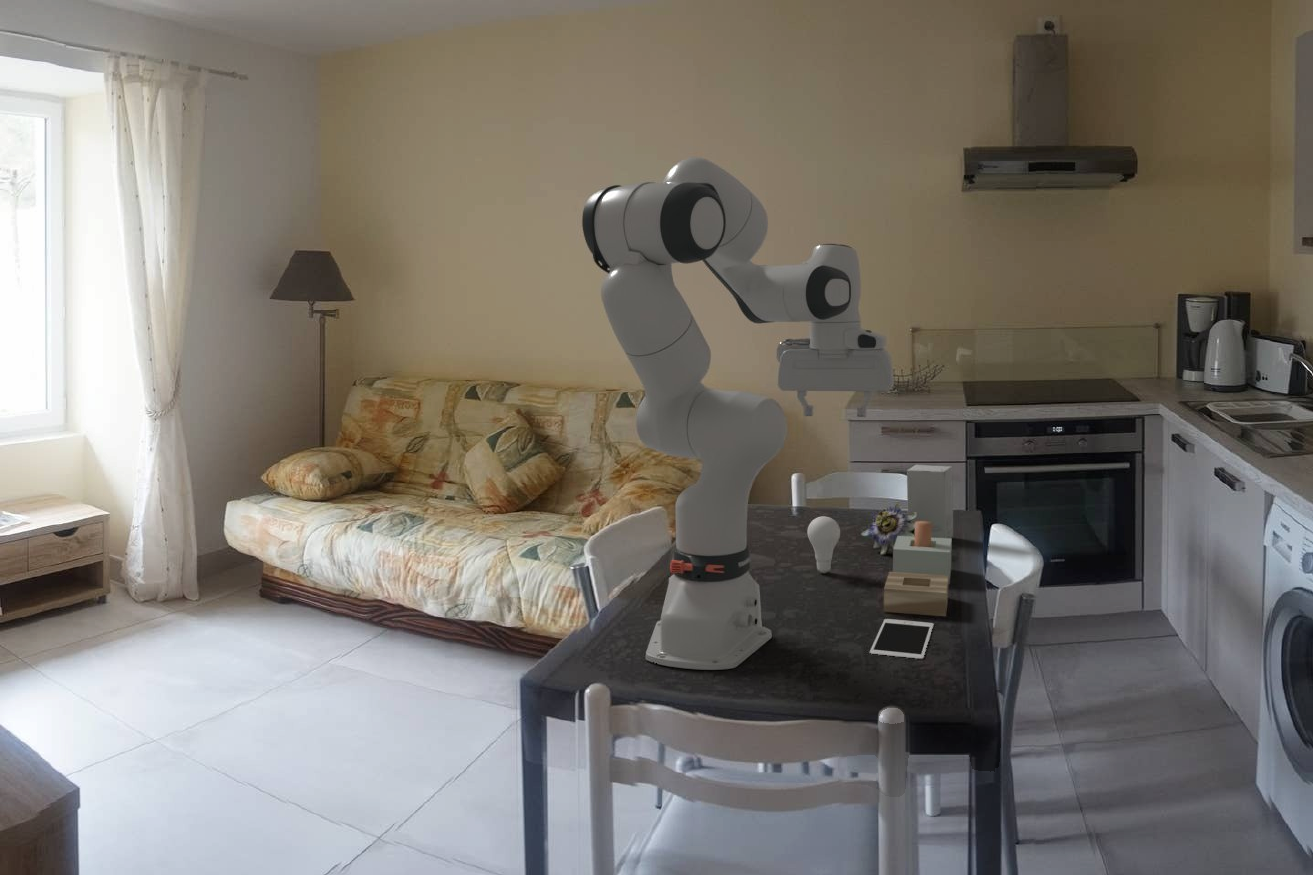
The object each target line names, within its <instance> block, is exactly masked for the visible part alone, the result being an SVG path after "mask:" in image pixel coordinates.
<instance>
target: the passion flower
mask: <svg viewBox="0 0 1313 875" xmlns="http://www.w3.org/2000/svg"><path fill="white" fill-rule="evenodd" d="M916 516H917V513H916V512H914V513H908V512H907V513H904V512H903V511H902V503H900V501H899V502H897V503H895V504H894V506H893V507H892V506H890V507H886V509H884V508H882V509H881V510H876V513H875V514H873V516H871V519H872V521H873V522H871V523H868V525H867V526H868V527H867V528H866V529H864V530H863V531H862V532H860V536H861V537H865V538H867V537H870V538H871V539H872V540H873V545H872V547H873V550H878V549H880V556H885V555H886V554H887V553H888V552H889V549H890V547H891V548H892V549H893V548H894V545H895V542H896V539H897V536H912V537H915V524H914V523H911V522H910V521H911V520H913V519H914V518H916Z"/></svg>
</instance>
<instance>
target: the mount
mask: <svg viewBox="0 0 1313 875" xmlns="http://www.w3.org/2000/svg"><path fill="white" fill-rule="evenodd" d="M948 600H949V584H948V576H947V575H931V574H915V573H899V572H893V571H889V572H888V575H887V577H886V580H885V584H884V587H883V613H896V614H897V613H898V614H907V615H909V614H910V615H921V616H922V615H923V616H933V617H947V609H948Z"/></svg>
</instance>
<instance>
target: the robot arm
mask: <svg viewBox="0 0 1313 875" xmlns="http://www.w3.org/2000/svg"><path fill="white" fill-rule="evenodd" d="M581 216H582V222H581V225H582V226H581V227H582V232H583V236H584V240H585V243H586V245H587V248H588V249H589V251H590V253H591V254H592V259H593V262H594V264H596V266H597V267H599V269H601V270H602V271H603V272H605V273H607V274H606V275H605V277H604V279H603V281H602V284H601V288H600V297H601V302H602V303H603V304H602V305H603V308H604V310H605V313H606V315H607V316H606V317H607V319H608V321H609V322H608V323H610V326H611V328H612V331H613V333H614V334H615V338H616V339H617V341H618V343H619V344H620V346H621V348H622V350H623V351H624V353H625V355H626V356H627V358H628V360H629V362H630V364H631V366H632V368H633V369H634V371H635V373H636V375H637V376H638V379H639V380H640V382H641V384H642V388H643V390H644V394H645V395H644V396H645V397H643V399H642V400H641V402H640V403H639V406H638V408H637V412H636V416H635V426H636V432H637V435H638V437H639V440H640V441H641V443H642V444H643V445H644V446H646V447H647V448H649V449H651V450H653V451H656V452H658V453H662V454H664V455H667V456H670V457H675V458H685V459H692V460H701V470H700V474H699V476H698V479H697V481H696V482H695V483H693V484H691V485H689V486H688V487H686V488H685V489H684V490H682V492H680V494H679V495H678V497H677V499H676V501H675V504H674V505H675V535H676V536H675V542H676V544H675V546H674V548H673V554H672V559H671V561H670V564H669V566H670V567H669V569H670V570H669V571H670V574H672V575H670V577H668V585H667V590H666V594H665V597H664V598H665V599H664V601H663V606H662V608H661V614H660V620H658V621H657V622H656V623H655V626H654V629H653V632H652V635H651V637H650V640H649V643H648V645H647V649H646V651H645V661H648V662H650V663H653V662H654V663H653V664H656V663H657V665H661V666H666V667H671V668H672V667H673V668H678V669H688V670H689V669H690V670H691V669H692V670H702V671H703V670H704V671H705V670H709V671H711V670H712V671H713V670H714V671H716V670H720V671H721V670H729V669H735V668H736V667H738V666H739V665H740V664H742V663H743V662H744V661H745V660H746V659H748V658H749V657H750V656H752V655H753V653H755V652H756V651H758V650H759V649H760V648H761V647H762V646H763V645H765V644H766V643H767V642H769V640H771V639H772V637H773V636H772V630H771V629H769V628H767V627H766V626H763V624H762V606H761V592H760V591H761V590H760V585H759V583H758V582H757V581H756V580H755V579H754V578H753V576H752V575H751V574H750V571H749V570H750V569H751V553H750V547H749V546H750V545H748V544H747V530H748V528H747V524H748V504H749V503H748V502H749V498H750V493H751V490H752V486H753V484H754V482H755V479H756V477H757V476H758V474H759V473H760V472H761V470H762V469H763V468H764V467H765V465H766V464H768V463H769V462H770V461H772V460H773V459H774V458H776V457H777V455H778V454H779V453H780V452H781V449H782V448H783V447H784V444H785V441H786V438H787V432H788V424H787V419H786V415H785V412H784V410H783V408H782V407H781V405H780V404H779V402H777V400H775V399H773V398H771V397H768V396H766V395H765V396H764V395H763V394H762V395H761V394H758V393H755V392H751V391H747V390H728V389H714V388H709V387H707V386H706V385H704V384H703V383H702V381H703V379H704V378H705V377H706V375H707V374H708V372H709V369H710V367H711V366H710V365H711V359H712V352H711V348H710V346H709V344H708V342H707V340H706V338H705V337H704V335H703V332H702V330H701V329H700V327H699V325H698V323H697V321H696V319H695V317H694V316H693V314H692V311H691V309H690V308H689V306H688V304H687V302H686V300H685V299H684V297H683V295H682V294H681V292H680V291H679V290H678V288H677V286H676V284H675V282H674V277H673V270H672V269H673V268H672V264H678V263H681V264H686V265H687V264H693V263H697V262H701V261H702V262H703V263H704V265H705V266H706V267H707V268H708V269H709V270H710V272H711V273H712V274H713V275H714V276H715V277H716V278H717V280H718V281H720V283H721V284H722V285H723V286H724V287H725V288H726V289H727V290H728V291H729V293H730V294H731V295H732V297H733V298H734V299H735V301H736V304H737V305H738V308H739V310H740V311H741V312H742V314H743V315H744V316H745V317H746V318H747V320H749V321H750V322H751V323H754V324H767V323H769V324H770V323H779V322H780V323H781V322H783V323H792V322H793V323H796V322H797V323H801V322H802V323H803V322H806V323H807V322H808V323H809V338H795V339H794V338H786V339H784V340H783V341H781V342H780V343H778V345H777V347H776V360H777V362H778V363H779V364H778V369H777V370H778V371H777V384H776V385H777V387H778V388H779V389H780V390H781V391H782V392H787V391H789V392H792V391H793V392H796V393H797V399H798V401H799V403H800V404H801V406H802V407H803V417H813V416H814V405H809V403H808V401H807V399H806V398H805V397H807V396H808V392H863V398H865V399H866V400H865V401H864V403H863V404H862V405H858V406H857V407H856V412H857V413H856V416H857V417H858V418H866V417H867V413H868V412H867V410H868V409H867V407H868V406H869V404H870V402H871V400H872V399H873V397H874V392H889V391H891V390H892V388H893V387H894V385H895V384H894V383H895V382H894V366H893V362H892V357H891V356H892V355H891V353H890V352H889V351H888V350H887V349H885V347H886V346H887V337H886V336H885V335H884V334H881V333H878V332H874V331H872V330H871V329H870V330H869V329H864V328H862V327H861V320H862V319H861V316H860V310H859V304H860V299H861V294H862V292H861V290H862V289H861V286H862V285H861V284H862V282H861V281H862V280H861V270H860V262H859V256H858V254H857V250H856V249H854V248H853V247H852V246H850V245H846V244H841V243H840V244H839V243H838V244H837V243H823V244H818V245H816V246H815V247H813V251H812V253H811V257H810V258H809V259H808V260H806V261H804V262H802V263H801V264H782V265H766V264H765V265H764V264H763V265H761V264H755V263H754V262H752V261H751V260H752V258H754V257H755V256H756V255H757V253H759V251H760V249H761V248H762V246H763V244H764V242H765V240H766V237H767V235H768V228H769V220H768V219H769V217H768V214H767V211H766V209H765V207H764V205H763V204H762V203H761V201H760V199H759V198H758V197H756V195H755V194H754V193H753V192H751V190H750V189H749V188H747V187H746V186H745V185H744V184H743V182H741V181H740V180H739V179H737V178H736V177H735V176H733V175H732V174H731V173H729V172H728V171H727V170H726V169H724V168H722V167H721V166H718V165H717V164H715V163H714V162H712V161H710V160H708V159H706V158H703V157H698V156H695V157H687V158H685V159H683V160H680V161H679V162H677V163H676V164H674V165H673V166H672V167H671V169H669V170H668V171H667V174H666V175H665V177H664V178H663V181H662V182H653V181H644V182H638V183H637V182H636V183H630V184H625V185H620V184H619V185H618V184H616V185H611V186H608V187H605V188H602V189H600V190H598V191H596V192H595V193H593V194H592V195H591V196H589V198H588V199H587V201H586V203H585V205H584V208H583V211H582V215H581ZM857 417H856V418H857Z"/></svg>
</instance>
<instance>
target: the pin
mask: <svg viewBox="0 0 1313 875" xmlns="http://www.w3.org/2000/svg"><path fill="white" fill-rule="evenodd" d="M915 547H931V522H928V521H917V522H915Z"/></svg>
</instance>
